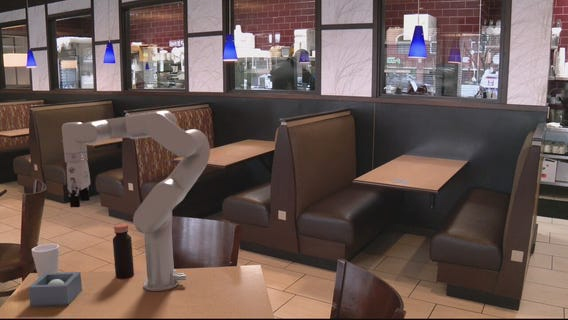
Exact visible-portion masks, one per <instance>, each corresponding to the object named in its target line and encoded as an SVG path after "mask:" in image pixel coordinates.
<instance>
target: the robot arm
mask: <svg viewBox="0 0 568 320" xmlns="http://www.w3.org/2000/svg"><path fill="white" fill-rule="evenodd" d="M177 121H178V120H177V117H176V116H175V115H174V113H172V112H171V111H168V110H157V111H149V112H143V113H136V114H128V115H126V116H121V117H115V118H113V117H112V118H107V119H105V118H104V119H99V120H93V121H87V122H80V121H73V122H72V121H71V122H66V123H63V124H62V126H61V135H62V144H63V155H64V162H65V163H66V179H67V180H66V181H67V190H68V191H67V192H68V197H69V205H70V208H80V207H81V202H87V201H90V187H89V186H90V185H91V176H90V170H89V163H88V160H89V159H88V149H87V148H88V147H87V144H96V143H99V142H104V141H109V140H115V139H123V138H125V139H126V138H127V139H131V140H138V139H145V138H151V139H153V140H154V141H155V142H157V143H158V144H159V145H161V146H163V147H164V148H165V149H166V150H168V151H169V152H171V153H173V154H174V155H176V156H178V157H180V158H182V159H181V160H180V161H179V162H178V163H177V165H176V166H175V168H174V169H173V170H172V172H171V173H170V174H169V175H168V176H167V178H165V179H163V180H162V181H160V182H158V183H157V184H156V185H154V187H153V188H152V189H151V190H150V191H149V193H148V194H147V195H146V197H145V198H144V199H143V201H142V202H141V204H139V206H138V207H137V209H136V210H135V212H134V214H133V217H132V219H133V220H132V222H133V225H134V228H135V229H136V230H137V231H138V232H140V233H142V234H144V250H145V264H146V277H147V278H146V280H144V281H143V284H142V285H143V286H142V287H143V289H144V290H147V291H151V292H161V291H168V290H171V289H174V288H176V287H177V286H178V285H179V283H180V281H186V280H187V274H185V273H184V272H180V273H178V272H177V269H175V266H174V265H175V264H174V250H173V236H172V235H173V233H172V232H173V230H172V229H173V228H172V227H173V209H174V208H175V207H176V206H177V205H179V204H180V203H181V202H182V201H183V200H184V199H185V197H186V196H187V194H188V192H189V191H190V190H191V189H192V187H194V185H195V183H197V181H198V179H199V177H200V176H201V175H202V173H203V172H204V170H205V169H206V167H207V165H208V163H209V160H210V157H211V156H210V155H211V146H210V145H211V144H210V142H209V140H208V138H207V136H206V135H205V134H204V132H202V131H201V130H199V129H195V128H193V129H187V130H184V129H182V128H181V127H180V126H178V122H177Z"/></svg>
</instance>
